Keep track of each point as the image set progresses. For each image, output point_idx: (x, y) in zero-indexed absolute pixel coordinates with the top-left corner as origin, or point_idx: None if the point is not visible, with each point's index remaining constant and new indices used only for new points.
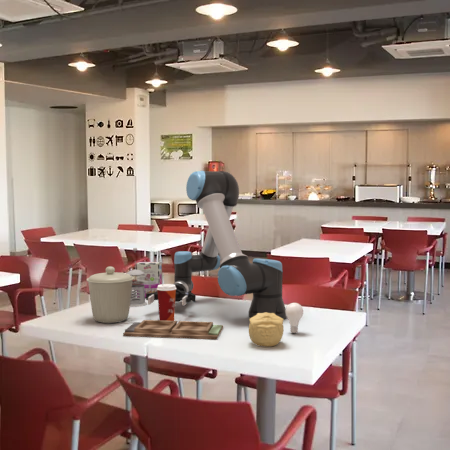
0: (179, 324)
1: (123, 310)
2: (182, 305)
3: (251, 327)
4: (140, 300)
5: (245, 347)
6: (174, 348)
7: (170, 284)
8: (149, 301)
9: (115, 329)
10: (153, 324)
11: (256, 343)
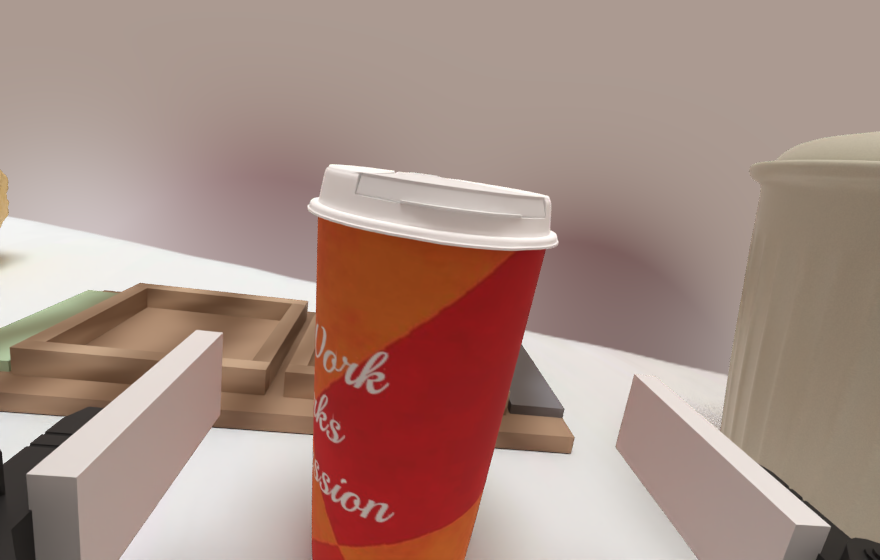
0: (269, 337)
1: (725, 412)
2: (217, 413)
3: (7, 189)
4: None
5: (35, 264)
6: (291, 280)
7: (409, 178)
8: (627, 415)
9: (611, 399)
10: None
11: None
